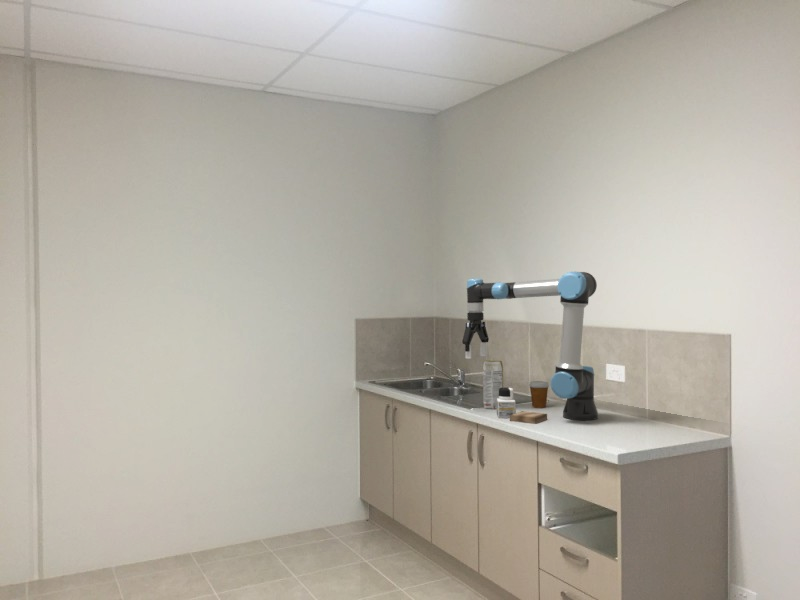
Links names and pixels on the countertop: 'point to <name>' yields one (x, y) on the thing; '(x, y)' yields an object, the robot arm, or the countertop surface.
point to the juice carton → (492, 382)
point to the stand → (528, 417)
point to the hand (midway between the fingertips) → (476, 357)
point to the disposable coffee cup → (539, 393)
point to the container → (505, 403)
